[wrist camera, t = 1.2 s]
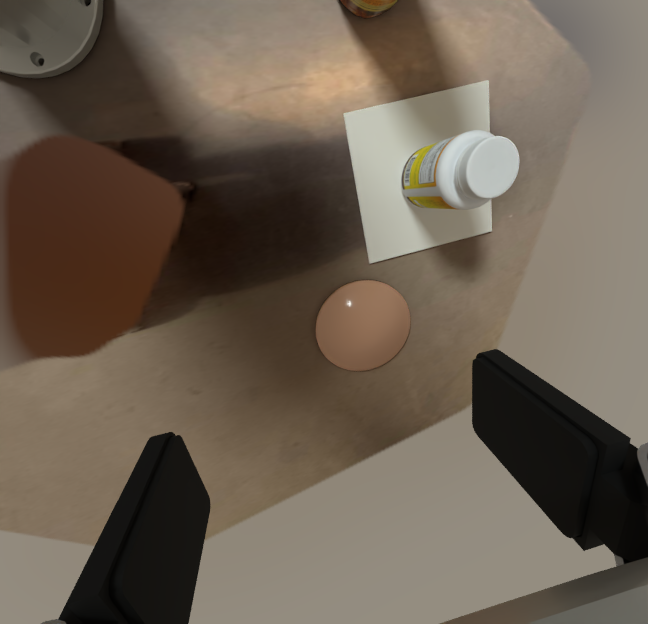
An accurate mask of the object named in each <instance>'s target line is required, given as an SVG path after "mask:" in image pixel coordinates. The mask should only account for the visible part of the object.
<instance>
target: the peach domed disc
mask: <svg viewBox="0 0 648 624" xmlns="http://www.w3.org/2000/svg"><path fill="white" fill-rule="evenodd" d="M410 322H411V321H410V312H409V308H408V306H407V303H406V302H405V300H404V298H403V297H402V296H401V294H399V293H398V292H397V291H396V290H395V289H394V288H392V287H391V286H389V285H387V284H385V283H383V282H380V281H376V280H358V281H353V282H350V283H347V284H345V285H343V286H341V287H340V288H338V289H337V290H335V291H334V292H333V293H332V294H331V295H330V296H329V297H328V298H327V299H326V300H325V302H324V303H323V304H322V306H321V308H320V310H319V313H318V315H317V319H316V325H315V333H316V339H317V342H318V345H319V347H320V349H321V351H322V353H323V354H324V356H325V357H326V358H327V359H328V360H329V361H330V362H332V363H333V364H335V365H336V366H338V367H340V368H343V369H347V370H352V371H365V370H370V369H374V368H376V367H379V366H381V365H383V364H385V363H386V362H388V361H389V360H391V359H392V358H393V357H394V356H395V355H396V354H397V353H398V352H399V351H400V350H401V348H402V347H403V345H404V343H405V341H406V339H407V337H408V334H409V330H410Z"/></svg>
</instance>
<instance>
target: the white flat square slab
mask: <svg viewBox="0 0 648 624" xmlns="http://www.w3.org/2000/svg"><path fill="white" fill-rule="evenodd" d="M343 116H344V122H345V128H346V133H347V139H348V145H349V151H350V156H351V162H352V168H353V174H354V179H355V185H356V191H357V196H358V202H359V208H360V214H361V219H362V225H363V231H364V237H365V242H366V248H367V254H368V260H369V264H370V263H374V262H378V261H382V260H385V259H389V258H393V257H397V256H401V255H404V254H408V253H412V252H416V251H419V250H423V249H427V248H431V247H435V246H438V245H442V244H446V243H450V242H453V241H457V240H461V239H465V238H469V237H472V236H476V235H480V234H484V233H487V232H491V231H492V213H491V200H489V201H488V202H487V203H485V204H484V205H482V206H480V207H477V208H474V209H469V210H459V209H436V208H421V207H417V206H415V205H413V204H412V203H410V202H409V201H408V200H407V198H406V197H405V195H404V193H403V191H402V187H401V174H402V170H403V167H404V165H405V163H406V161H407V160H408V159H409V157H410V156H411V155H412V154H413V153H415V152H416V151H417V150H419V149H421V148H423V147H426V146H429V145H432V144H435V143H437V142H440V141H443V140H446V139H448V138H451V137H454V136H456V135H459V134H462V133H464V132H468V131H472V130H482V131H486V132H489V133H490V119H489V80H487V81H482V82H478V83H474V84H469V85H465V86H461V87H456V88H452V89H448V90H443V91H439V92H435V93H430V94H426V95H422V96H417V97H413V98H409V99H404V100H400V101H396V102H391V103H387V104H383V105H378V106H374V107H370V108H365V109H361V110H357V111H352V112H348V113H344V114H343Z"/></svg>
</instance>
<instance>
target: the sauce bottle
mask: <svg viewBox="0 0 648 624" xmlns="http://www.w3.org/2000/svg"><path fill="white" fill-rule="evenodd" d="M340 1H341V2H342V3H343V4H344V6H345V7H346V8H347V9H349V10H350V11H351V12H352V13H354V14H355V15H356V16H361V17H363V18H370V17H374V16H377V15H381V14H382V13H383V12H386V11H388V10H389V9H390V8H391V7H392V6H393V5H394V4H395V3H396V2H397V1H398V0H340Z"/></svg>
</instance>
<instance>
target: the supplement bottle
mask: <svg viewBox="0 0 648 624" xmlns="http://www.w3.org/2000/svg"><path fill="white" fill-rule="evenodd" d="M518 169H519V154H518V151H517V148H516V146H515V145H514V143H513V142H512V141H510V140H509V139H507V138H505V137H502V136H494V135H493V134H491V133H489V132H486V131H482V130H472V131H468V132H464V133H462V134H459V135H456V136H454V137H451V138H448V139H446V140H443V141H440V142H437V143H435V144H432V145H429V146H426V147H423V148H421V149H419V150H417V151H416V152H415V153H413V154H412V155H411V156H410V157H409V159H408V160H407V161H406V163H405V165H404V167H403V170H402V174H401V187H402V191H403V193H404V195H405V197H406V198H407V200H408V201H409V202H410V203H412V204H413V205H415V206H417V207H421V208H436V209H459V210H469V209H474V208H477V207H480V206H482V205H484V204H485V203H487V202H488V201H489V200H491V199H492V198H495V197H498V196H500V195H501V194H503V193H504V192H505V191H507V190H508V189H509V187H510V186H511V185H512V184H513V182H514V180H515V178H516V176H517V173H518Z"/></svg>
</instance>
